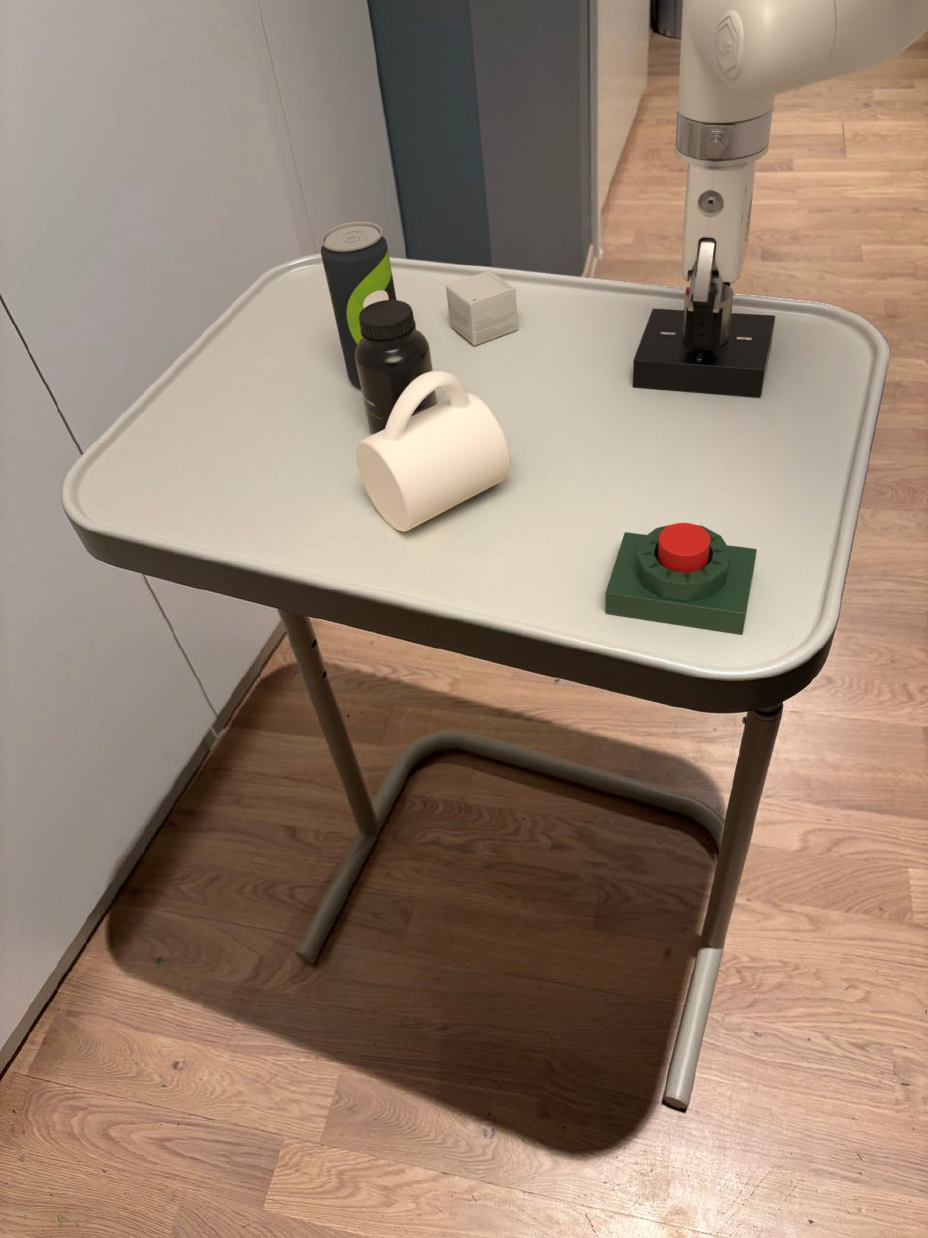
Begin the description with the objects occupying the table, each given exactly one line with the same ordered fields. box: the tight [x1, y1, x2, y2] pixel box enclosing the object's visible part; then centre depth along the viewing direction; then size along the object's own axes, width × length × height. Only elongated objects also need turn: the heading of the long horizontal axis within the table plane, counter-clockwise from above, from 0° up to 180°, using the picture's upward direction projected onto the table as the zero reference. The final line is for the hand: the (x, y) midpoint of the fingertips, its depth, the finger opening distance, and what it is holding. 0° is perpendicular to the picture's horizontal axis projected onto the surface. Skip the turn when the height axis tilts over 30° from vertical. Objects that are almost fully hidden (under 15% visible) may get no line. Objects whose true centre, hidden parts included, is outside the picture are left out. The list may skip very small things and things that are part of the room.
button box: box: [604, 524, 758, 635], centre depth 70 cm, size 10×7×4 cm
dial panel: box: [632, 307, 776, 398], centre depth 91 cm, size 12×10×3 cm
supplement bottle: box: [355, 299, 438, 435], centre depth 86 cm, size 7×7×12 cm
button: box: [658, 522, 710, 573], centre depth 68 cm, size 4×4×2 cm
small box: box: [445, 270, 519, 347], centre depth 100 cm, size 6×6×5 cm
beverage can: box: [320, 221, 397, 389], centre depth 92 cm, size 6×6×15 cm
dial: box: [682, 284, 735, 346], centre depth 89 cm, size 4×4×5 cm
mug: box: [355, 370, 511, 533], centre depth 78 cm, size 8×10×12 cm
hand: (705, 331), depth 90 cm, fingers closed on dial, 4 cm apart
